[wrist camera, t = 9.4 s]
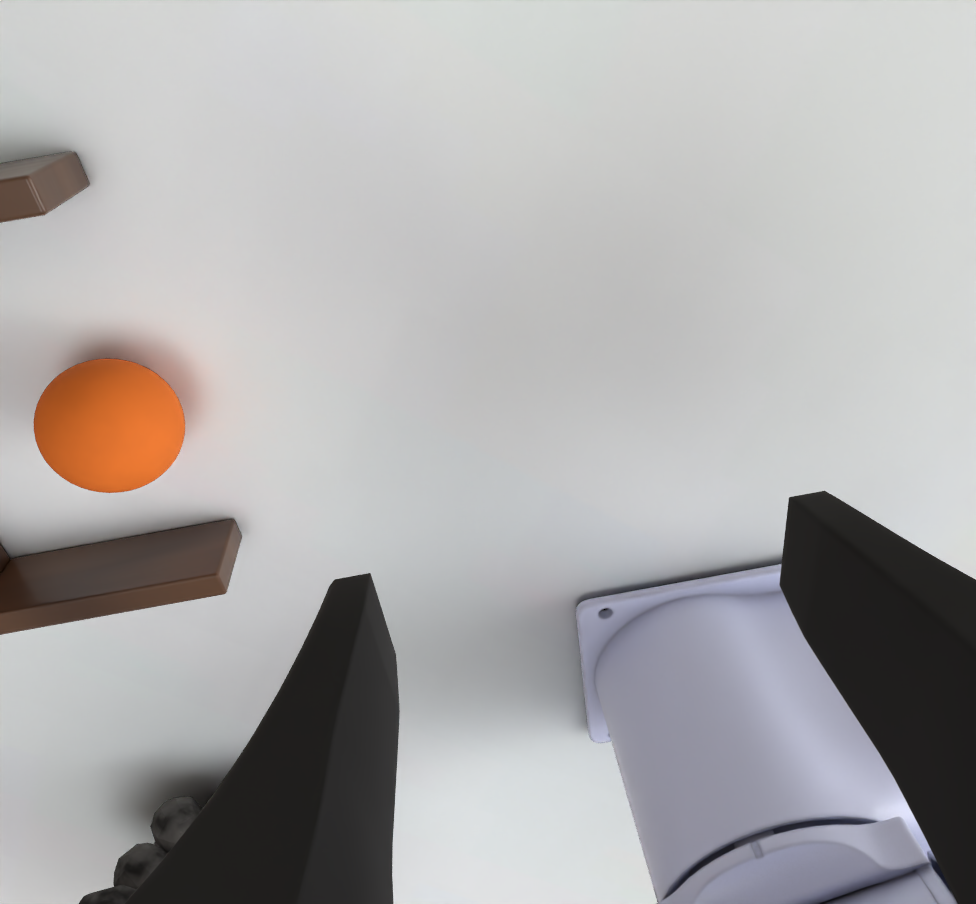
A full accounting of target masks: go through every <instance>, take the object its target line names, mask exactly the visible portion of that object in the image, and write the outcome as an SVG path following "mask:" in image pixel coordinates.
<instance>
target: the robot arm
mask: <svg viewBox="0 0 976 904" xmlns="http://www.w3.org/2000/svg"><path fill="white" fill-rule="evenodd" d="M605 608H608V609H607V610H604V611H601V610H602V609H605ZM576 620H577V629H578V639H579V648H580V658H581V668H582V677H583V687H584V696H585V706H586V715H587V725H588V732H589V736H590V739H591V740H592V741H593V742H596V743H605V742H610V741H612V745H613V748H614V752H615V755H616V759H617V762H618V766H619V769H620V773H621V776H622V780H623V783H624V787H625V790H626V794H627V797H628V801H629V804H630V808H631V811H632V815H633V818H634V822H635V825H636V829H637V832H638V836H639V839H640V843H641V846H642V850H643V853H644V856H645V860H646V863H647V867H648V870H649V874H650V877H651V881H652V884H653V888H654V891H655V895H656V898H657V902H658V903H657V904H976V580H975V579H973V578H972V577H970V576H968V575H966V574H964V573H963V572H961V571H959V570H957V569H955V568H954V567H952V566H950V565H948V564H946V563H945V562H943V561H941V560H939V559H938V558H936V557H934V556H932V555H931V554H929V553H927V552H926V551H924V550H922V549H921V548H919V547H917V546H915V545H914V544H912V543H910V542H909V541H907V540H905V539H904V538H902V537H900V536H899V535H897V534H895V533H894V532H892V531H891V530H889V529H887V528H886V527H884V526H882V525H881V524H879V523H877V522H876V521H874V520H872V519H871V518H869V517H868V516H866V515H864V514H863V513H861V512H859V511H858V510H856V509H854V508H853V507H851V506H850V505H848V504H846V503H845V502H843V501H841V500H839V499H838V498H836V497H834V496H833V495H831V494H829V493H827V492H825V491H821V492H816V493H810V494H805V495H799V496H794V497H789V503H788V512H787V521H786V530H785V539H784V548H783V557H782V564H778V565H773V566H767V567H762V568H756V569H751V570H746V571H740V572H735V573H729V574H724V575H718V576H713V577H707V578H702V579H696V580H691V581H685V582H680V583H674V584H669V585H663V586H658V587H652V588H647V589H641V590H636V591H630V592H625V593H619V594H614V595H608V596H603V597H597V598H592V599H587V600H584V601H582V602H581V603H579V605H578V606H577V607H576ZM398 732H399V694H398V677H397V662H396V653H395V650H394V647H393V644H392V641H391V637H390V634H389V631H388V628H387V625H386V621H385V618H384V615H383V612H382V609H381V606H380V602H379V599H378V596H377V593H376V590H375V586H374V583H373V580H372V577H371V574H370V573H368V574H363V575H357V576H352V577H346V578H341V579H335V580H334V581H333V582H332V584H331V585H330V587H329V589H328V591H327V594H326V596H325V598H324V601H323V603H322V605H321V608H320V610H319V612H318V614H317V616H316V619H315V621H314V623H313V625H312V627H311V629H310V631H309V634H308V636H307V638H306V640H305V642H304V644H303V646H302V648H301V650H300V652H299V654H298V656H297V658H296V660H295V662H294V663H293V665H292V667H291V669H290V671H289V673H288V675H287V677H286V679H285V681H284V683H283V684H282V686H281V688H280V690H279V692H278V694H277V695H276V697H275V699H274V700H273V702H272V704H271V705H270V707H269V709H268V711H267V712H266V714H265V716H264V717H263V719H262V721H261V722H260V724H259V726H258V728H257V729H256V731H255V733H254V734H253V736H252V737H251V739H250V741H249V742H248V744H247V745H246V747H245V748H244V750H243V752H242V753H241V755H240V756H239V758H238V759H237V761H236V762H235V764H234V765H233V767H232V768H231V770H230V771H229V772H228V774H227V775H226V777H225V778H224V780H223V781H222V783H221V784H220V785H219V787H218V788H217V790H216V791H215V793H214V794H213V795H212V797H211V798H210V799H209V801H208V802H207V803H206V805H205V806H204V807H203V809H202V810H201V811H200V813H199V814H198V815H197V816H196V818H195V819H194V820H193V822H192V823H191V824H190V826H189V827H188V828H187V830H186V831H185V832H184V834H183V835H182V836H181V837H180V839H179V840H178V841H177V842H176V844H175V845H174V846H173V847H172V849H171V850H170V851H169V852H168V854H167V855H166V856H165V857H164V858H163V860H162V861H161V862H160V863H159V864H158V865H157V867H156V868H155V869H154V870H153V871H152V872H151V873H150V875H149V876H148V877H147V878H146V879H145V880H144V881H143V883H142V884H141V885H140V886H139V887H138V888H137V889H136V891H135V892H134V893H133V894H132V895H131V896H130V897H129V899H128V900H127V901H126V902H125V903H124V904H393V885H392V842H393V824H394V806H395V788H396V770H397V752H398Z"/></svg>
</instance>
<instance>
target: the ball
mask: <svg viewBox="0 0 976 904" xmlns="http://www.w3.org/2000/svg"><path fill="white" fill-rule="evenodd" d="M34 434H35V439H36V442H37V445H38V448H39V450H40V452H41V454H42V456H43V458H44V459H45V461H46V462H47V463H48V465H49V466H50V467H51V468H52V469H53V470H54V471H55V472H56V473H57V474H59V475H60V476H61V477H62V478H64V479H65V480H67V481H69V482H70V483H72V484H74V485H77V486H79V487H81V488H84V489H88V490H91V491H97V492H106V493H114V492H124V491H130V490H133V489H137V488H140V487H142V486H144V485H147V484H149V483H150V482H152V481H154V480H155V479H157V478H158V477H159V476H161V475H162V474H163V473H164V472H165V471H166V470H167V469H168V468H169V467H170V466H171V465H172V463H173V462H174V461H175V459H176V457H177V456H178V454H179V452H180V449H181V447H182V444H183V439H184V434H185V420H184V414H183V410H182V407H181V404H180V402H179V400H178V398H177V396H176V394H175V392H174V391H173V390H172V388H171V387H170V386H169V385H168V384H167V383H166V382H165V381H164V380H163V379H162V378H161V377H160V376H159V375H157V374H156V373H154V372H153V371H151V370H150V369H148V368H146V367H144V366H141V365H139V364H137V363H133V362H130V361H126V360H120V359H96V360H91V361H86V362H83V363H80V364H77V365H75V366H73V367H71V368H69V369H67V370H65V371H64V372H62V373H61V374H59V375H58V376H57V377H56V378H55V379H54V380H53V381H52V382H51V383H50V384H49V385H48V386H47V387H46V389H45V390H44V392H43V394H42V395H41V397H40V399H39V402H38V404H37V407H36V410H35V415H34Z"/></svg>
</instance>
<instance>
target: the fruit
mask: <svg viewBox="0 0 976 904" xmlns="http://www.w3.org/2000/svg"><path fill="white" fill-rule="evenodd" d="M201 810H202V807H201V806H200V805H199V804H198V803H197V802H196V801H195V800H194V799H193V798H192V797H185V796H183V797H177V798H173V799H170V800H167V801H166V802H165V803H164V804H163V805H162V806H161V807H160V808H159V809H158V810H157V811H156V812H155V814H154V817H153V820H152V823H151V826H150V827H151V830H152V833H153V836H154V839H155V843H154V844H150V843H143V844H136V845H135V846H134V847H133V848H131V849H130V850H129V851H128V852H126V853H125V854H124V855H123V856H121V857H120V858H119V859H118V862H117V865H116V869H115V872H114V887H112V888H108V889H104V890H101V891H97V892H93V893H90V894H88V895H86V896H84V897H83V898H82V900H81V901H80V902H79V904H124V903H125V902H126V901H127V900H128V899H129V897H130V896H131V895H132V894H133V893H134V892H135V891H136V889H137V888H138V887H139V886H140V885H141V884H142V883H143V881H144V880H145V879H146V878H147V877H148V876H149V875H150V873H151V872H152V871H153V870H154V869H155V868H156V867H157V865H158V864H159V863H160V862H161V861H162V860H163V858H164V857H165V856H166V855H167V854H168V852H169V851H170V850H171V849H172V847H173V846H174V845H175V844H176V842H177V841H178V840H179V839H180V837H181V836H182V835H183V834H184V832H185V831H186V830H187V828H188V827H189V826H190V824H191V823H192V822H193V820H194V819H195V818H196V816H197V815H198V814H199V813H200V811H201Z"/></svg>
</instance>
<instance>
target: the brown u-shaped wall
mask: <svg viewBox="0 0 976 904" xmlns="http://www.w3.org/2000/svg"><path fill="white" fill-rule="evenodd" d="M88 186H89V182H88V179H87V177H86V175H85V172H84V170H83V168H82V165H81V163H80V161H79V158H78V156H77V154H76V153H75V152H71V151H70V152H64V153H59V154H53V155H47V156H41V157H35V158H29V159H24V160H18V161H12V162H6V163H0V223H2V222H7V221H13V220H19V219H25V218H31V217H36V216H42V215H45V214H47V213H49V212H50V211H52V210H53V209H55V208H56V207H58V206H59V205H61V204H62V203H64V202H65V201H67V200H68V199H70V198H72V197H73V196H75V195H76V194H78V193H79V192H81V191H82V190H84V189H85V188H87V187H88ZM241 539H242V536H241V534H240V531H239V529H238V527H237V524H236V522H235V520H234V519H230V520H224V521H219V522H213V523H208V524H202V525H196V526H191V527H185V528H180V529H174V530H169V531H163V532H157V533H152V534H146V535H141V536H135V537H130V538H124V539H118V540H113V541H107V542H102V543H96V544H91V545H85V546H79V547H74V548H68V549H63V550H57V551H52V552H46V553H40V554H35V555H29V556H24V557H18V558H13V559H10V558H9V556H8V555H7V553H6V552H5V551H4V549H3V548H2V546H1V545H0V635H1V634H7V633H12V632H18V631H23V630H29V629H34V628H40V627H45V626H51V625H56V624H62V623H68V622H73V621H79V620H84V619H90V618H95V617H101V616H106V615H112V614H117V613H123V612H128V611H134V610H139V609H145V608H150V607H156V606H162V605H167V604H173V603H178V602H184V601H189V600H195V599H200V598H206V597H211V596H217V595H222V594H225V593H226V592H227V589H228V585H229V582H230V578H231V575H232V571H233V567H234V564H235V560H236V557H237V553H238V549H239V546H240V542H241Z"/></svg>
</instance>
